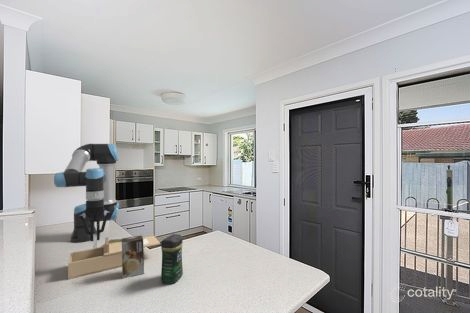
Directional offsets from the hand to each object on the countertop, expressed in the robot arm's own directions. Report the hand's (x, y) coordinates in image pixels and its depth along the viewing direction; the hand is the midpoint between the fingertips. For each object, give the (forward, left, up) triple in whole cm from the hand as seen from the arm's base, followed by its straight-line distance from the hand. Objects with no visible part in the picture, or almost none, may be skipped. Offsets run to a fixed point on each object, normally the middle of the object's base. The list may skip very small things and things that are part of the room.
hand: (95, 247), depth 110 cm
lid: (0, +17, -3) cm, 17 cm away
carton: (-20, +8, -10) cm, 24 cm away
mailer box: (0, +3, -10) cm, 10 cm away
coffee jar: (+32, +29, -10) cm, 44 cm away
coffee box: (+17, +15, -10) cm, 25 cm away
